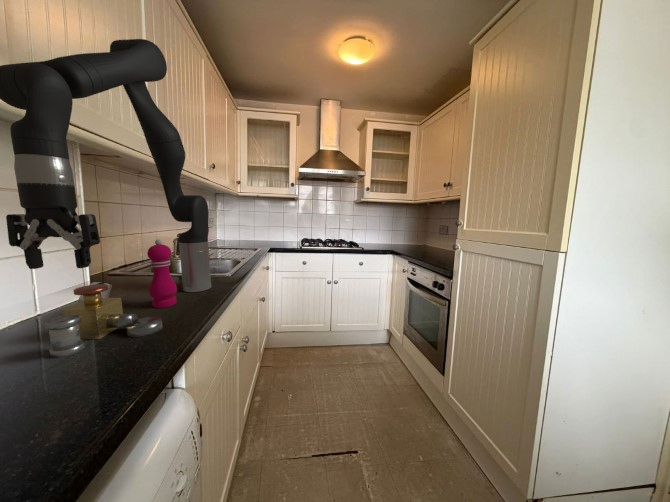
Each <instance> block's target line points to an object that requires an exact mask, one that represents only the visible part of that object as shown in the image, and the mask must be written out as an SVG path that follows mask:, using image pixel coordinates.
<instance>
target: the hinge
mask: <svg viewBox="0 0 670 502" xmlns="http://www.w3.org/2000/svg"><path fill="white" fill-rule="evenodd" d="M96 284H103V282H101V281H94V282H91V283H90V284H89V285H96ZM104 284H106V285H108V290H106V291H104V292H101V296H102V298H110V294H111V291H112V287H113V285H112V284H111V283H110V284H109V283H108V282H105V283H104ZM83 301H84V300H83V295H79V297H78V300H77V303H76V304H78V303H81V302H83Z"/></svg>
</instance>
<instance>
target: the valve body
mask: <svg viewBox="0 0 670 502" xmlns="http://www.w3.org/2000/svg"><path fill="white" fill-rule="evenodd" d="M106 290H108V285H106V284H105V283H102V284H96V285H90V284H89V285H84V286H79V287H76V288H74V289H73V295H75V296H80V295H83V300H84V301H83V302H81V303H78V304H77V303H76V304H74V305H73V304H72V306H68V307H66V308H64V309H61V312H62V315H68V314H79V315H80V317H81V322H80V323H79V328H80V334H81V340H101V339H103V338H104V337H106V336H107V335H109V334H110V333H112V332H114V331H115V330H117V329H126V335H127V336H128V337H131V338H140V337H147V336H151V335H154V334H156V333H157V332H160V331H161V330H162V329H163V321H162V318H161V317H160V316H146V317H141V318H139V317H138V315H137V314H136V313H123V312H124V310H123V309H124V308H123V303H122V297H109V298H102V296H101V292H104V291H106Z"/></svg>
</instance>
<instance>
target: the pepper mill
mask: <svg viewBox="0 0 670 502" xmlns="http://www.w3.org/2000/svg"><path fill="white" fill-rule="evenodd" d="M154 243H155V244H153V245H152V246H150V247H149V248H148V249H147V257H148V259H150V260H151V261H150V268H151V267H152V271H153V277H152V280H151V282H150V285H149V288H148V294H149V297H151V298H152V300H151V304H152V308H154V309H155V308H156V309H163V308H168V307H172V306H174V305H176V304H177V296H175V295H176V294H177V292H178V287H177V285H176V282H175V281H174V279H173V277H172V276H171V273H170V265H171V260H170V258H171V257H172V250H171V248H170V247H169V246H168V245H165V244H163V241H162V239H160V238H158V239H156V240H155V241H154Z"/></svg>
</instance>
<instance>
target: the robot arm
mask: <svg viewBox="0 0 670 502" xmlns="http://www.w3.org/2000/svg"><path fill="white" fill-rule="evenodd" d="M167 71H168V66H167V61H166V58H165V56H164V54H163V51H161V49H160V48H159V47H158V46H157V44H156V43H154V42H153V41H151V40H148V39H144V38H133V39H115V40H113V41H112V42H111V43H110V45H109V51H107V52H105V51H104V52H87V53H78V54H70V55H64V56H58V57H55V58H52V59H47V60H43V61H30V62H18V63H10V64H1V65H0V100H1V101H3V103H5V104H6V105H8V106H10V107H12V108H15V109H19V110H23V111H25V113H24V116H23V117H21V118H20V119H18V120H16V121H14V122H12V123H11V126H10V130H9V131H10V137H11V139H10V140H11V144H12V150H13V155H14V156H13V157H14V164H13V165H14V168H13V169H14V174H15V180H16V187H17V192H18V197H19V204H20V205H19V206H20V207H22V208H23V209H25V214H24V213H22V214H21V213H16V214H15V213H13V214H12V213H11V214H6V216H5V218H6V219H5V220H6V221H5V222H6V229H7V237H8V244H9V246H11V247H17V248H20V249H21V250H23V254H24V259H25V264H26V266H27V267H28V269H30V270H38V269H41V268H43V267H44V260H43V259H44V258H43V254H42V248H40V246H41V245H42V243H43V241H45V240H46V239H48V238H62V239H63V240H64V241H66V242H69V244H71V245H72V247H73V248H74V257H75V258H74V259H75V265H76V269H84V268H88V267H89V266H90V264H91V263H92V258H91V251H90V249H91V247H93V246H96V245H99V244H101V243H100V242H101V240H100V239H101V237H100V235H99V229H98V228H99V227H98V223H97V218H96V215H94V214H93V213H92V214H91V213H90V214H89V213H87V214H85V213H83V214H79V215H78V213H77V212H76V209H77V208H78V199H77V192H76V184H75V179H74V178H75V176H74V173H73V168H72V165H71V161H70V155H69V153H70V152H69V147H68V141H67V135H68V132H69V128H70V122H71V116H72V112H73V111H72V110H73V105H74V104H73V103H74V102H73V100H76V99H84V98H88V97H91V96H94V95H97V94H100V93H104V92H106V91H109V90H113V89H115V88H118V87H121V86H123V89H124V91H125V92H126V95H127V97H128V99H129V101H130V103H131V106H132V108H133V110H134V113H135V115H136V118H137V120H138V122H139V125H140V128H141V130H142V132H143V135H144V139H145V141H146V144H147V146H148V149H149V152H150V155H151V156H152V159H153V162H154V164H155V167H156V169H157V172H158V175H159V177H160V180H161V184H162V188H163V190H164V191H163V192H164V194H165V195H164V196H165V198H166V203H167V206H168V209H169V212H170V214H171V216H172V218H173V219H174V220H175V221H176V222H179V223H191V225H190V228H189V229H188V230H186V231H183V232H181V233H179V234H178V236H177V237H178V249H179V258H180V259H179V261H180V271H181V282H182V291H183V292H185V293H197V292H199V293H200V292H203V291H207V290H210V289H211V288H212V278H211V277H212V275H211V268H210V267H211V264H210V263H211V262H210V250H209V232H210V230H209V229H210V227H209V226H210V225H209V205H208V202H207V199H206V198H205V197H204V196H202V195H199V194H198V195H195V194H193V195H192V194H189V195H188V194H186V195H185V194H184V192H183V189H182V186H181V185H182V184H181V175H182V171H183V169H184V166H185V162H186V150H185V147H184V144H183V141H182V139H181V138H182V137H181V136H180V135H181V134H180V132H179V130H178V129H177V127H176V126H175V125H174V123H173V122H172V121H170V119H169V118H168V117H167V116H166V115H165V114H164V113H163V112H162V110H160V108H159V107H158V106H157V104H156V103H155V101H154V99H153V97H152V96H151V94H150V90H149V89H148V85H147V84H146V83H152V82H154V83H155V82H159V81H161V80H163V79H164V78H165V77H166V75H167V73H168V72H167ZM77 225H79V226H80V228H79V227H78V226H77ZM28 226H29V227H28Z"/></svg>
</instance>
